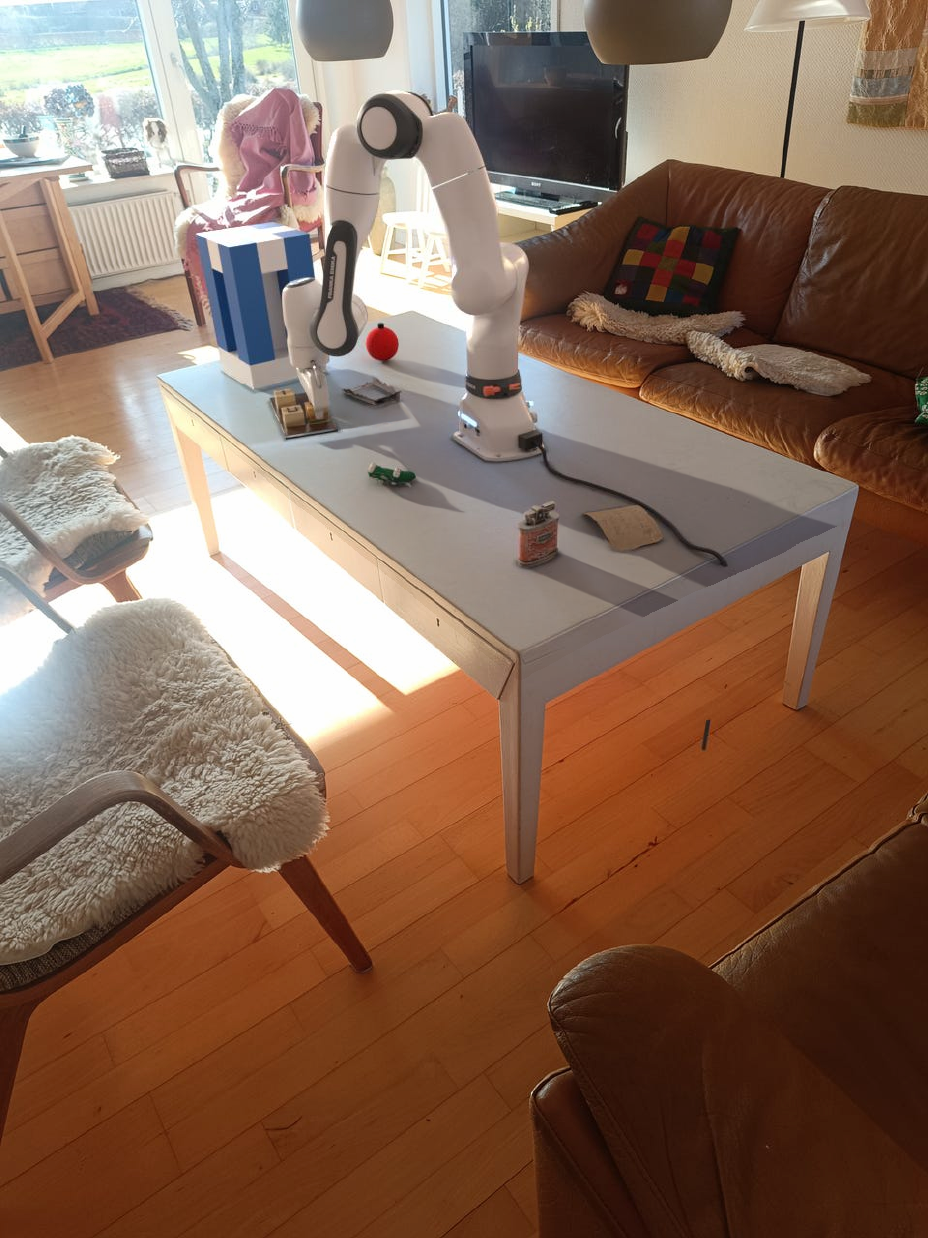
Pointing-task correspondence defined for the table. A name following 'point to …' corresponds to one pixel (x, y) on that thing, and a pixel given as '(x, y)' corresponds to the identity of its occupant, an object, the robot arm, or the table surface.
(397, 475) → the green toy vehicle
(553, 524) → the lighter
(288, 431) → the letter board
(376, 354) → the ornament
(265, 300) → the toy block
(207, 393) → the table surface
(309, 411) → the letter s tile
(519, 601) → the table surface
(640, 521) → the clay tablet
